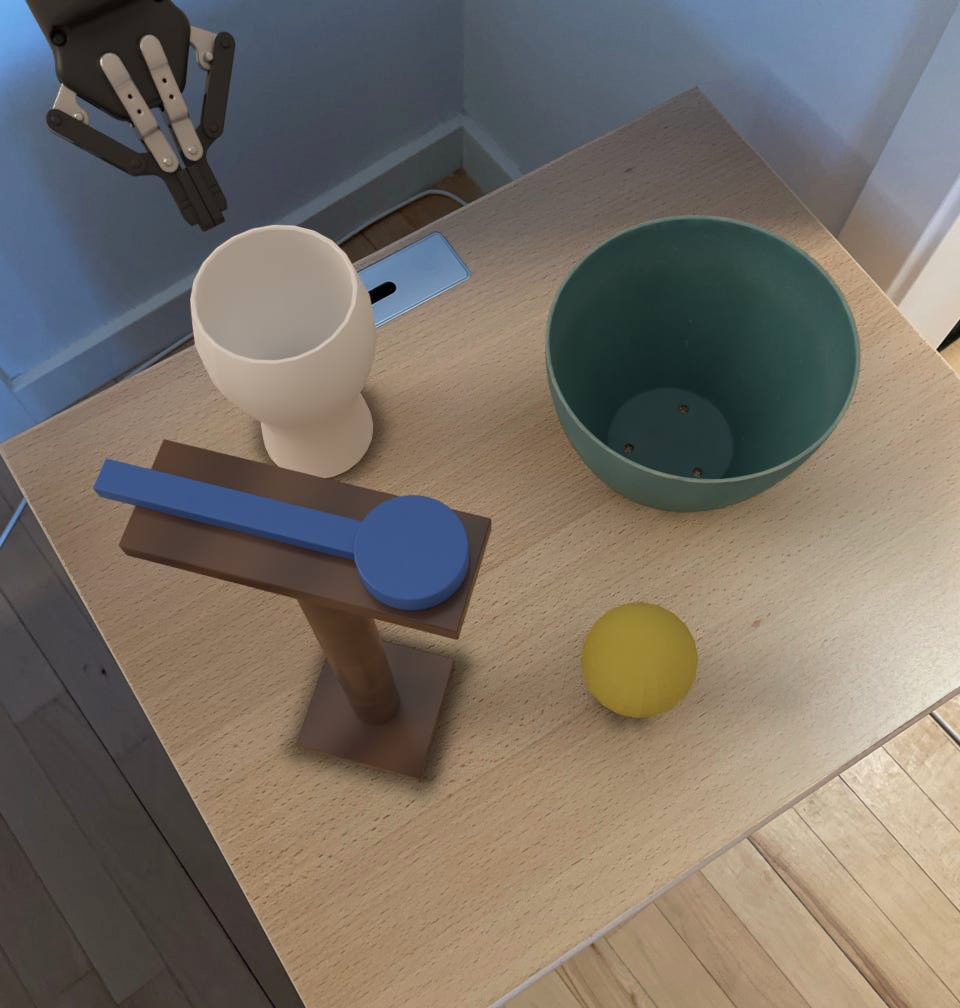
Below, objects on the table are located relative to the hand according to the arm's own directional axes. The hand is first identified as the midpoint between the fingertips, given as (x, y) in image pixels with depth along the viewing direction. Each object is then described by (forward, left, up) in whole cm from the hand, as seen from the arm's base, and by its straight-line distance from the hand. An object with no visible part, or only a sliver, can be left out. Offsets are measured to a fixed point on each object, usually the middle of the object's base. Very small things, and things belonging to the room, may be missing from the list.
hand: (214, 226), depth 66 cm
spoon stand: (+18, -26, -9) cm, 33 cm away
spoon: (+18, -26, +17) cm, 35 cm away
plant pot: (+32, -3, -10) cm, 33 cm away
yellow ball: (+33, -21, -10) cm, 40 cm away
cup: (+8, -8, -10) cm, 15 cm away
